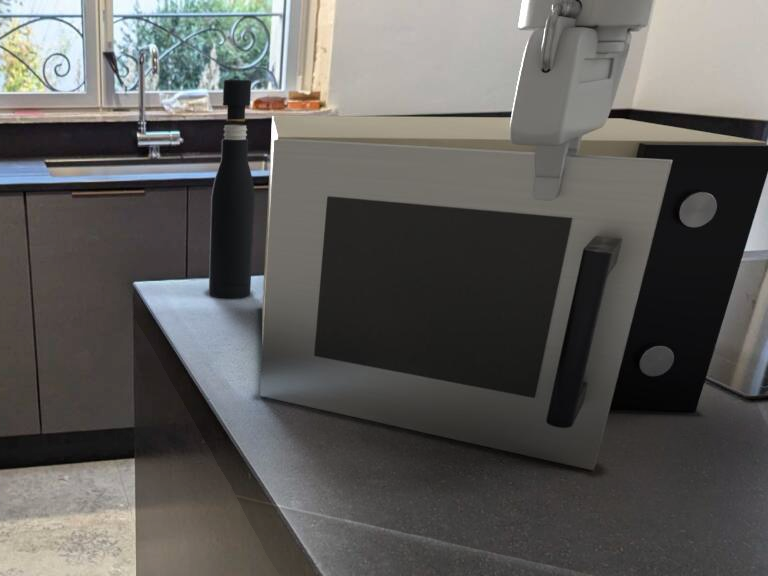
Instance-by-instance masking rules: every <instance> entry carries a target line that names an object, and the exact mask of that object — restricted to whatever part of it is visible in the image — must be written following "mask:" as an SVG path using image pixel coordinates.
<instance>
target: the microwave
mask: <svg viewBox="0 0 768 576" xmlns="http://www.w3.org/2000/svg"><path fill="white" fill-rule="evenodd" d="M510 121H511V117H502V116H501V117H500V116H499V117H497V116H494V117H492V116H490V117H488V116H486V117H485V116H483V117H482V116H387V115H386V116H385V115H384V116H383V115H382V116H381V115H380V116H373V115H372V116H371V115H369V116H368V115H367V116H366V115H272V116H271V132H270V133H271V134H270V135H271V138H270V152H269V153H270V154H269V169H268V170H269V172H268V188H267V189H268V191H267V211H266V227H265V228H266V229H265V246H264V247H265V248H264V265H263V266H264V267H263V286H262V302H261V303H262V307H261V330H262V333H261V334H262V336H261V337H262V339H261V340H262V344H261V345H263V330H264V312H265V293H266V275H267V257H268V238H269V220H270V201H271V183H272V164H273V146H274V140H277V139H296V140H315V141H333V142H352V143H370V144H389V145H408V146H426V147H445V148H463V149H482V150H500V151H519V152H535V149H536V146H531V145H516V144H513V143H512V142H511V140H510ZM577 155H593V156H612V157H630V158H649V159H667V160H672V165H671V169H670V173H669V177H668V181H667V185H666V189H665V193H664V197H663V201H662V205H661V208H660V212H659V216H658V220H657V224H656V228H655V232H654V236H653V240H652V244H651V248H650V252H649V256H648V260H647V264H646V268H645V272H644V276H643V280H642V284H641V287H640V291H639V295H638V299H637V303H636V307H635V311H634V315H633V319H632V323H631V327H630V331H629V335H628V339H627V343H626V347H625V351H624V355H623V359H622V363H621V366H620V370H619V374H618V378H617V382H616V386H615V390H614V394H613V398H612V402H611V406H610V410H611V409H613V410H637V411H659V412H660V411H661V412H663V411H665V412H689V413H696V412H697V409H698V406H699V403H700V398H701V395H702V392H703V389H704V385H705V383H706V379H707V376H708V372H709V368H710V366H711V363H712V359H713V356H714V352H715V350H716V346H717V342H718V339H719V336H720V333H721V330H722V326H723V323H724V320H725V316H726V313H727V309H728V306H729V303H730V299H731V296H732V293H733V290H734V286H735V283H736V280H737V276H738V273H739V270H740V266H741V263H742V259H743V256H744V253H745V250H746V246H747V244H748V240H749V237H750V234H751V230H752V227H753V223H754V219H755V216H756V213H757V211H758V207H759V204H760V201H761V197H762V194H763V190H764V187H765V183H766V180H767V177H768V143H767V141H763V140H758V139H751V138H745V137H738V136H733V135H732V136H731V135H727V134H722V133H721V134H719V133H715V132H714V133H713V132H707V131H701V130H695V129H689V128H683V127H677V126H670V125H664V124H658V123H652V122H646V121H639V120H634V119H627V118H618V117H617V118H615V117H614V118H612V117H610V118H609V117H608V118H607V121H606V123H605V124H604V126H603V127H602V128H600V129H597V130H595V131H592V132H590V133H587V134H585V135H583V136H582V139H581V144H580V149H579V152H578V154H577Z"/></svg>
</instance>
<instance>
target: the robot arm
mask: <svg viewBox="0 0 768 576" xmlns="http://www.w3.org/2000/svg"><path fill="white" fill-rule="evenodd" d="M653 1H654V0H521V6H520V11H519V19H518V25H517V29H518V30H519V31H532V32H531V33H530V35H529V37H528V39H527V43H526V45H525V48H524V52H523V56H522V61H521V67H520V70H519V75H518V80H517V85H516V90H515V95H514V101H513V105H512V110H511V116H510V118H511V121H510V140H511V142H512V143H513V144H516V145H531V146H536V149H535V176H536V177H535V183H534V188H533V198H535V199H536V200H546V201H551V200H554V199H555V198H557V197H558V196H559V194H560V191H561V185H562V180H563V176H562V172H563V167H564V161H565V156H566V154H575V155H577V154H578V152H579V149H580V144H581V139H582V136H583V135H585V134H587V133H590V132H592V131H595V130H597V129H600V128H602V127H603V126H604V124H605V123H606V121H607V118H609V116H610V114H611V111H612V108H613V105H614V101H615V99H616V96H617V92H618V89H619V86H620V83H621V79H622V76H623V72H624V69H625V65H626V61H627V59H628V54H629V51H630V46H631V42H632V37H633V36H632V33H637V32H640V31H641V30H642V29H644V28H646V27H647V26H649V25H648V24H649V21H650V16H651V11H652V6H653Z"/></svg>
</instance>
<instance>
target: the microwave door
mask: <svg viewBox="0 0 768 576" xmlns="http://www.w3.org/2000/svg"><path fill="white" fill-rule="evenodd" d="M671 165H672V160H667V159H649V158H630V157H612V156H593V155H575V154H566V156H565V161H564V167H563V172H562V176H563V180H562V185H561V191H560V194H559V196H558V197H557V198H555V199H554V200H551V201H546V200H536V199H535V198H533V188H534V183H535V177H536V176H535V152H519V151H500V150H482V149H463V148H445V147H426V146H408V145H389V144H370V143H352V142H333V141H315V140H296V139H277V140H274V146H273V164H272V183H271V201H270V220H269V238H268V257H267V275H266V293H265V312H264V330H263V344H262V353H261V368H260V369H261V370H260V386H259V388H260V389H259V396H260V397H263V398H267V399H271V400H277V401H281V402H285V403H289V404H294V405H299V406H302V407H307V408H313V409H317V410H319V411H320V410H321V411H325V412H330V413H335V414H338V415H342V416H343V415H344V416H347V417H353V418H357V419H361V420H365V421H370V422H373V423H377V424H378V423H379V424H382V425H387V426H392V427H396V428H401V429H406V430H410V431H415V432H420V433H422V434H428V435H431V436H432V435H433V436H435V437H441V438H444V439H445V438H446V439H450V440H454V441H459V442H464V443H468V444H473V445H477V446H481V447H487V448H491V449H493V450H499V451H504V452H508V453H513V454H517V455H521V456H525V457H531V458H535V459H538V460H539V459H540V460H544V461H549V462H553V463H557V464H561V465H562V464H563V465H567V466H571V467H574V468H580V469H583V470H587V471H588V470H589V471H594V470H595V468H596V464H597V462H598V456H599V453H600V448H601V445H602V441H603V437H604V433H605V429H606V425H607V421H608V417H609V414H610V410H611V409H610V406H611V402H612V398H613V394H614V390H615V386H616V382H617V378H618V374H619V370H620V366H621V363H622V359H623V355H624V351H625V347H626V343H627V339H628V335H629V331H630V327H631V323H632V319H633V315H634V311H635V307H636V303H637V299H638V295H639V291H640V287H641V284H642V280H643V276H644V272H645V268H646V264H647V260H648V256H649V252H650V248H651V244H652V240H653V236H654V232H655V228H656V224H657V220H658V216H659V212H660V208H661V205H662V201H663V197H664V193H665V189H666V185H667V181H668V177H669V173H670V169H671Z"/></svg>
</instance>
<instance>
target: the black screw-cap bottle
mask: <svg viewBox="0 0 768 576" xmlns="http://www.w3.org/2000/svg"><path fill="white" fill-rule="evenodd" d="M222 83H223V84H222V106H224V107H227V109H226V122H227V123H244V122H245V121H246V107H248V106H249V107H250V106H251V94H252V93H251V92H252V89H251V88H252V80H251V79H223V82H222ZM223 131H224V133H223V137H224V138H222V140H221V160H220V163H219V164H218V168H217V171H216V173H215V177H214V181H213V186H212V190H211V197H210V227H209V228H210V231H209V232H210V233H209V238H210V239H209V270H208V271H209V272H208V294H209V295H210V296H213V297H216V298H220V299H221V298H222V299H240V298H245V297H248V296H250V295H251V285H252V266H253V265H252V263H253V260H252V259H253V243H254V225H255V224H254V223H255V221H254V220H255V200H256V195H255V194H256V193H255V186H254V181H253V175H252V171H251V168H250V164H249V160H248V157H249V156H248V155H249V154H248V153H249V139H248V138H247V136H248V133H247V131H248V128H247V125H245V124H225V125H224V128H223Z"/></svg>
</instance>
